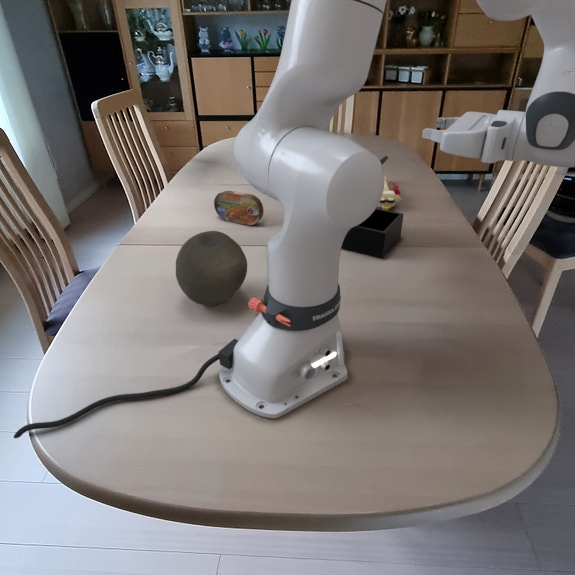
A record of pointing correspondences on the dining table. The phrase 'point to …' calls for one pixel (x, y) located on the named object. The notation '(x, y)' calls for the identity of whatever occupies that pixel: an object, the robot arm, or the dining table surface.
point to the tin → (238, 207)
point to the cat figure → (389, 196)
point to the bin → (375, 234)
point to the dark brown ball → (210, 268)
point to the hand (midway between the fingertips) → (430, 127)
